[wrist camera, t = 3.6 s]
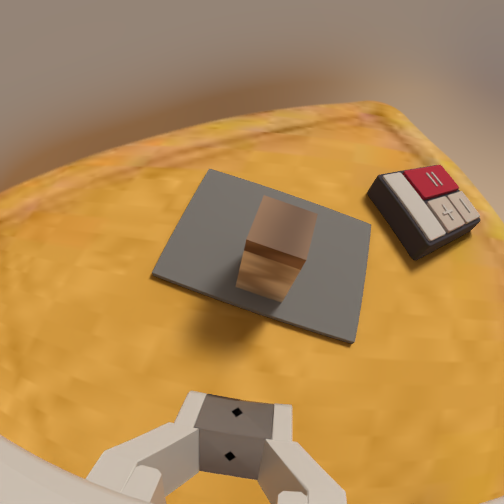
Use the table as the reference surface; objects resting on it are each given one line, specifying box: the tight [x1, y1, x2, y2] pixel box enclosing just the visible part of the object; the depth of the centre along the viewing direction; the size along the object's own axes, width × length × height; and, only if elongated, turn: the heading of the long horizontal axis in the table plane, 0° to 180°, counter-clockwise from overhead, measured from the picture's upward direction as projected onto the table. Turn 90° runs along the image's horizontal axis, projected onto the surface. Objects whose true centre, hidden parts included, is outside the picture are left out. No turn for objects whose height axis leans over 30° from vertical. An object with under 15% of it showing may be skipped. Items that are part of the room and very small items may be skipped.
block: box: [235, 195, 318, 303], centre depth 28 cm, size 4×4×8 cm
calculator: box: [367, 165, 480, 260], centre depth 39 cm, size 11×4×15 cm
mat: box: [152, 169, 371, 344], centre depth 33 cm, size 20×15×1 cm
